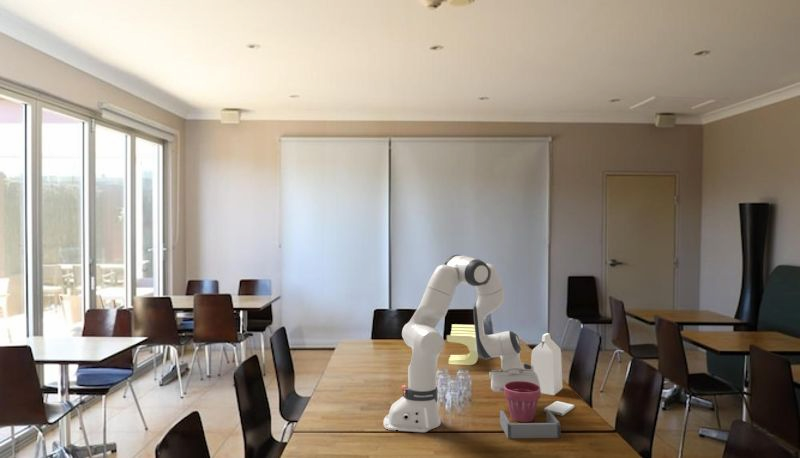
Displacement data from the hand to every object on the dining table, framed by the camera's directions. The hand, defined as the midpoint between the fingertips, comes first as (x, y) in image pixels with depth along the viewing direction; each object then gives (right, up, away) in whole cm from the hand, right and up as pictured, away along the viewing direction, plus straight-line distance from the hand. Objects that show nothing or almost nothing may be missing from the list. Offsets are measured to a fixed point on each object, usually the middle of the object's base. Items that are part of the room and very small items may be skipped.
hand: (517, 400), depth 216 cm
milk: (+20, -5, +29) cm, 36 cm away
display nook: (0, -6, -18) cm, 19 cm away
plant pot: (0, -5, -6) cm, 8 cm away
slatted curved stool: (-13, -4, +79) cm, 80 cm away
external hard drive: (+18, -6, +4) cm, 19 cm away
